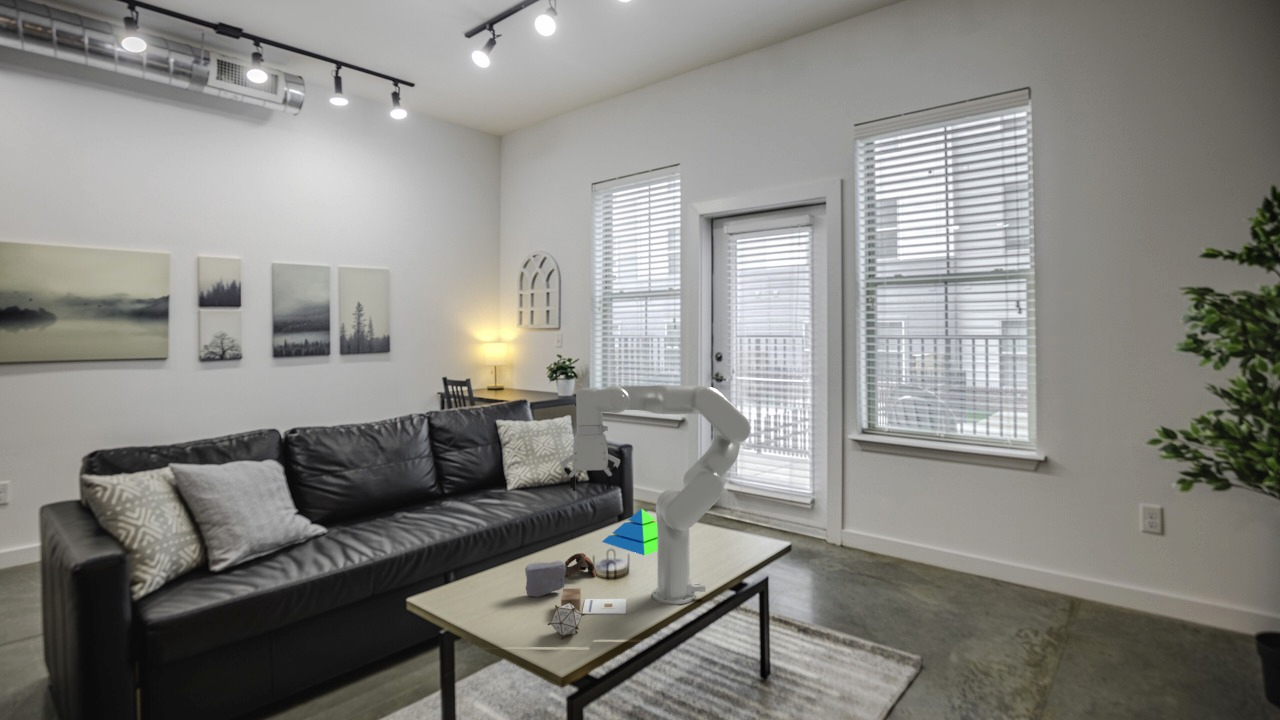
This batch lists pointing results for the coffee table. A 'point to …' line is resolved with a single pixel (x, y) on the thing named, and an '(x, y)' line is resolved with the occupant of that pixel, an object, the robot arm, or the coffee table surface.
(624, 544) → the pyramid toy
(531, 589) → the stone block
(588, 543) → the coffee table surface
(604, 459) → the robot arm
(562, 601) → the walnut block
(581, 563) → the brown arched sculpture
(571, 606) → the game die
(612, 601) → the white picture card
